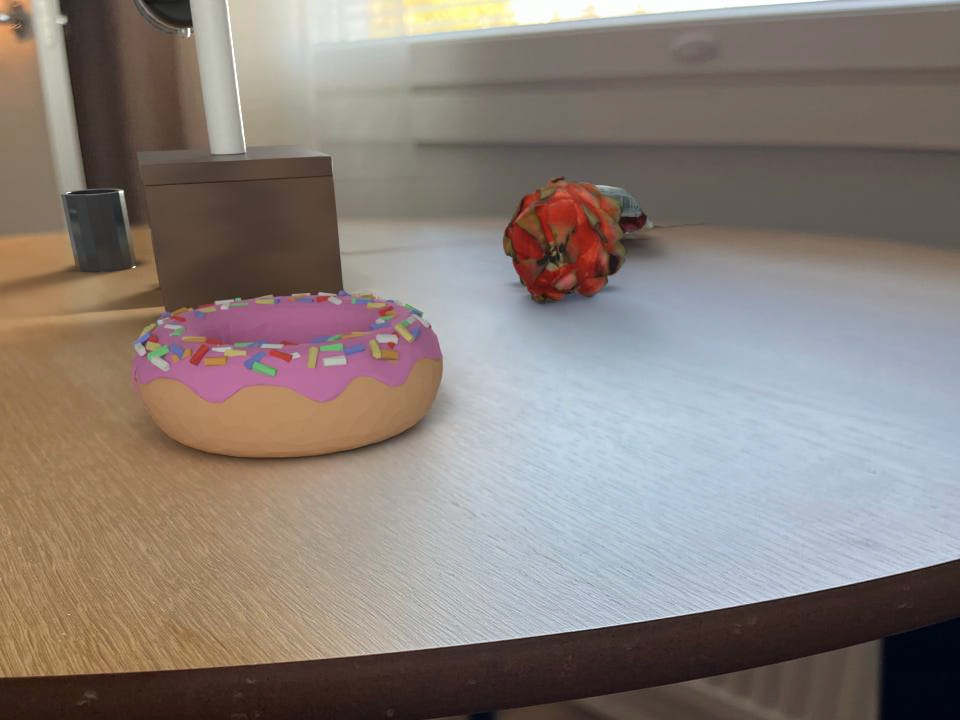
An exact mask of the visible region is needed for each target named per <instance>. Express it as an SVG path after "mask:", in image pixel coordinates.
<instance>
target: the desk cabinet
mask: <svg viewBox="0 0 960 720" xmlns="http://www.w3.org/2000/svg"><path fill="white" fill-rule="evenodd" d="M245 147H246V153H243V154H233V155H213V154H211V151H210V148H195V149H194V148H192V149H172V150H171V149H170V150H149V151H136V157H137V164H138V169H139V175H140V180H141V181H140V182H141V186H142V192H143V199H144V204H145V210H146V215H147V222H148V227H149V233H150V239H151V245H152V250H153V256H154V262H155V270H156V273H157V280H158V285H159V290H161V295H162V300H163V304H164V311H165V312H170V313H172V312H174V311H177V310H179V309H181V308H184V307H185V308H187V309H189V308H192V309H193V310H196V309H198V306H201V305H207V304H213V303H214V304H215V301H222V300H233V299H234V301H235V298H241V300H248V299H255V298H258V297H263V296H268V295H273V297H276V296H284V297H285V296H292V294H303V293H310V295H318V293H319V292H323V293H330V294H337V295H338V294H339V291H344V281H343V268H342V258H341V246H340V234H339V226H338V225H339V224H338V212H337V201H336V200H337V199H336V188H335V177H334V168H333V167H334V166H333V156H332V155H330V154H327V153H324V152H321V151H318V150H316V149H312V148H310V147H307V146H304V145H301V144H280V145H258V146H245ZM338 296H340V295H338ZM165 312H164V313H165Z"/></svg>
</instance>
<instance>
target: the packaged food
mask: <svg viewBox="0 0 960 720" xmlns="http://www.w3.org/2000/svg"><path fill="white" fill-rule="evenodd" d="M594 185H595V184H594ZM595 186H596V187H597V188H598V189H599V190H600V193H601V195H608V196H612V197H615V198H616V199H617V200H618V201H619V202H620V203H621V205H622V207H623V213H622V215H621V218H620V220H619V222H618V223H619V224H620V228H621V230H622V232H623V233H624V234H625V235H624V237H623V238H622V239H621V240H620V241H622V240H624V239H626V238H628V237H629V236H631V235H634V234H636V233H638V232H639V231H640V230H641V229H643V228H644V226H646V227H648V228H649V229H650V230H652V229H653V227H654V224H653V222H652V220H649V218H648V216H649V215H648V214H646V213H645V210H644V209H642V207H641V206H640V205H639V204H638V202H637V201H636V200H635V198H634V196H633V195H632V193H630V192H629V191H628V190H625V188H620V187H615V186H611V185H610V186H609V185H602V184H601V185H600V184H598V185H595Z"/></svg>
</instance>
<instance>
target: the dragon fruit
mask: <svg viewBox="0 0 960 720" xmlns="http://www.w3.org/2000/svg"><path fill="white" fill-rule="evenodd" d="M565 179H566V177H565V176H562V175H561V176H559V177H553V178H550V179H549V180H548V181H547V184H546V186H544V187H537V189H536V190H535V192H534V193H527V194H525V195H524V196H523V197H522V198H521V199H520V200H519V201H518V203H517V204H516V206H515V208H514V210H513V214H512V216H511V218H510V220H509V222H507V226H506V227H505V229H504V233H503V237H502V246H503V251H504V254H505V255H506V256H507V257H510V258H511V259H512V265H513V267H514V270H515V273H516V274H517V275H518V277H519V282H520V284H521V285H522V286H524V287H526V290H527V292H528V293H529V294H530V295H531V300H533V301H535V302H536V303H538V304H542V303H547V302H549V303H557V302H559V301H560V300H562V299H563V298H564V297H565V295H566V293H568V292H570V293H572V294H573V293H578V294H579V295H581V296H583V297H585V298H592V297H594V296H595V295H597V294H598V293H599V292H600V291H602V289H604V287H606V286H607V285H608V283H609V278H608V277H611V276H614V275H616V274H617V273H618V272H619V271H620V269H621V268H622V267H623V265H624V264H625V262H626V260H627V258H626V256H627V254H628V252H629V250H628V249H627V248H626V247H624V245H623V244H622V243H621V241H622V240H623V239H622V238H623V237H624V235H625V234H624V233H623V232H622V230H621V228H620V224H619V223H618V222H619V220H620V218H621V215H622V213H623V207H622V205H621V203H620V202H619V201H618V200H617V199H616V198H615V197H612V196H608V195H601V193H600V190H599V189H598V188H597V187H596V186H595V184H593V183H591V182H587V181H585V182H579V181H576V180H574V181H571V182H569V183H568V182H567V181H566V180H565ZM621 239H622V240H621Z"/></svg>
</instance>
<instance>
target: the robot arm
mask: <svg viewBox="0 0 960 720" xmlns="http://www.w3.org/2000/svg"><path fill="white" fill-rule="evenodd" d="M132 3H133V4H134V5H135V7H136V10H137V11H138V12H139V13H140V15H141V17H142V18H144V21H146V23H148V25H150V26H151V27H153V28H155V29H156V30H158V31H159V32H164V33H165V34H167V35H178V36H179V37H180V38H181V39H188V38H189V37H190V36H191V34H194V29H193V22H192V14H191V7H190V0H132Z"/></svg>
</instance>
